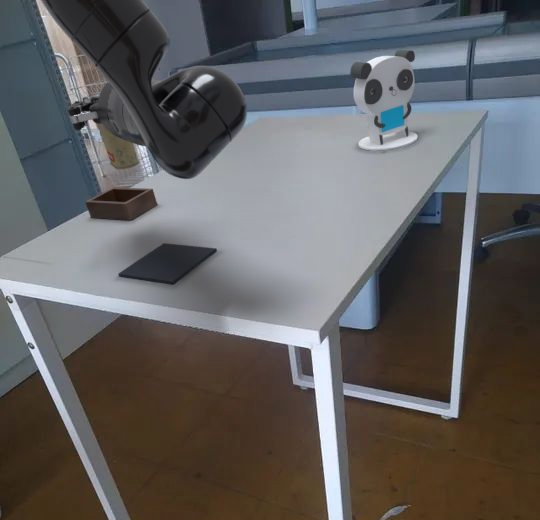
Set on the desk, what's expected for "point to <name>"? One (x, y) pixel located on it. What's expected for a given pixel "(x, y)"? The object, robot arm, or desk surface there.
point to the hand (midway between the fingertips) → (99, 101)
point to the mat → (167, 263)
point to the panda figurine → (385, 99)
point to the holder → (121, 203)
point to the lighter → (118, 149)
